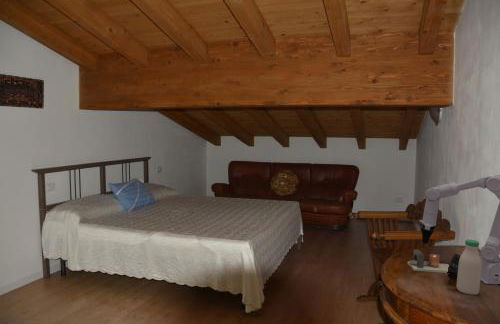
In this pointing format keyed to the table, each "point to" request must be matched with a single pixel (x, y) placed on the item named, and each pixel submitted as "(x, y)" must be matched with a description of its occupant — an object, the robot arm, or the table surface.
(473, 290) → the milk bottle
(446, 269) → the board
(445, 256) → the table surface
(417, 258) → the eye post
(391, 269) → the table surface
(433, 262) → the hook rod
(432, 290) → the table surface
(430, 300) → the table surface
